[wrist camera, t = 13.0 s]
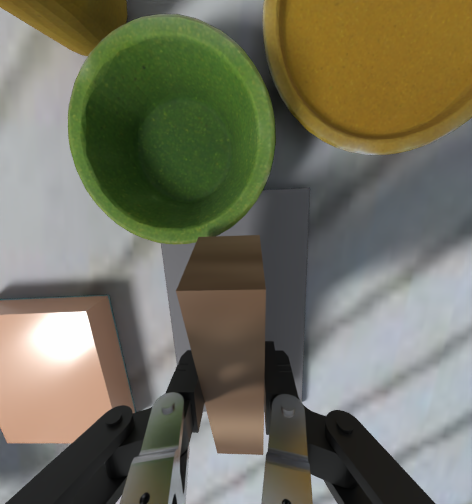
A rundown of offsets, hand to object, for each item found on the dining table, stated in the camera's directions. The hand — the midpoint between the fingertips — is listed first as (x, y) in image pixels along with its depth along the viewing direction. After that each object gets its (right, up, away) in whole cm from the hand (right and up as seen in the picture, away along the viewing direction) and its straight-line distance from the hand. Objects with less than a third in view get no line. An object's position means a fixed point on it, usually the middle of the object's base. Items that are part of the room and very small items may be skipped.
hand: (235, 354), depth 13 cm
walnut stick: (0, +1, +1) cm, 2 cm away
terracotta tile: (-15, +2, +4) cm, 16 cm away
